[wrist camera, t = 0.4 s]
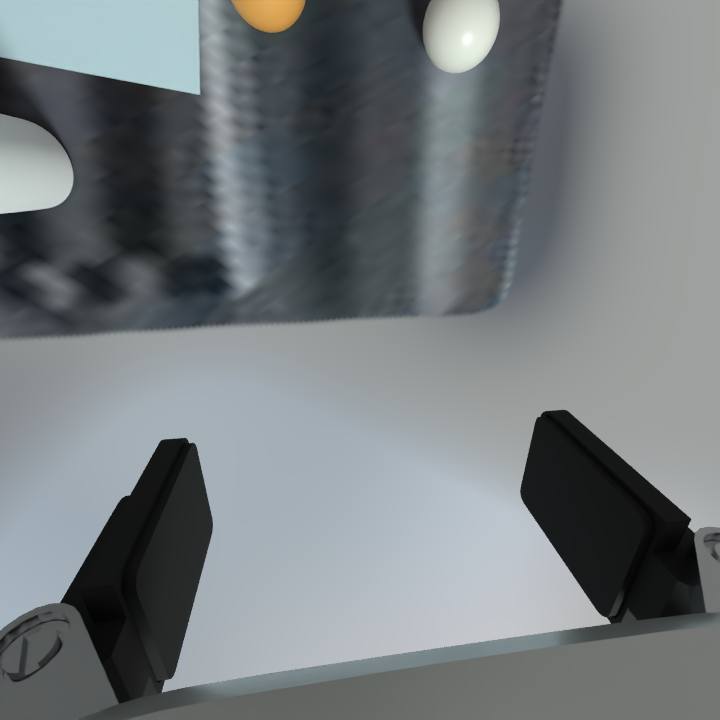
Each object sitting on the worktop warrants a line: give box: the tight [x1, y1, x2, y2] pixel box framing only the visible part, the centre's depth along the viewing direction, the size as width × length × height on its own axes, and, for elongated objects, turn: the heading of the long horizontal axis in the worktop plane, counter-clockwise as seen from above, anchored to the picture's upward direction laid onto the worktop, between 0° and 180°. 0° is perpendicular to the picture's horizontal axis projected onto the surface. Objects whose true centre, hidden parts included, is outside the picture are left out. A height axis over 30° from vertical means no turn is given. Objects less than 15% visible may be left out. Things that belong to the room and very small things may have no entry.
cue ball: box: [423, 0, 500, 73], centre depth 29 cm, size 6×6×6 cm
